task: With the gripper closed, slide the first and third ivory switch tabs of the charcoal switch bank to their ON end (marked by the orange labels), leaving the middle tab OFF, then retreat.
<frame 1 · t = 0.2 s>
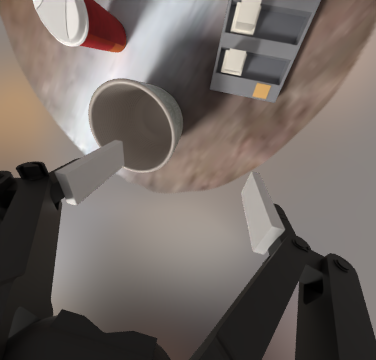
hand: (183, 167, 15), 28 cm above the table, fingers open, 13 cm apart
tab 2: (246, 16, 24), point 4 cm above the table, slide at 0.0 cm
paper cup: (114, 36, 32), on the table
tab 3: (233, 62, 28), point 4 cm above the table, slide at 0.0 cm
switch bank: (261, 28, 28), on the table
concrete flower pot: (159, 118, 40), on the table
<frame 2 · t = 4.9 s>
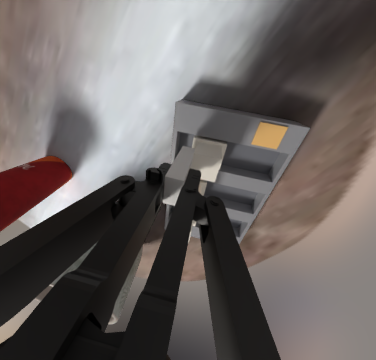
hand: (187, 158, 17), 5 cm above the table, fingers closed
tab 2: (190, 193, 21), point 4 cm above the table, slide at 0.0 cm
tab 1: (206, 157, 17), point 4 cm above the table, slide at 1.1 cm, touching gripper
paper cup: (59, 168, 29), on the table
tab 3: (184, 220, 24), point 4 cm above the table, slide at 0.0 cm
switch bank: (215, 182, 24), on the table
concrete flower pot: (120, 228, 37), on the table
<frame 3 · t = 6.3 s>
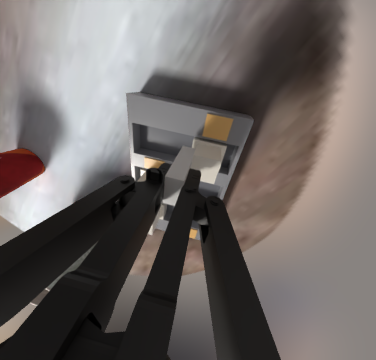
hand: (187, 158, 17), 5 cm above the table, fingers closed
tab 2: (151, 185, 21), point 4 cm above the table, slide at 0.0 cm
tab 1: (206, 158, 17), point 4 cm above the table, slide at 6.7 cm, touching gripper
paper cup: (32, 161, 29), on the table
tab 3: (150, 213, 24), point 4 cm above the table, slide at 0.0 cm
switch bank: (181, 176, 24), on the table
concrete flower pot: (97, 223, 37), on the table
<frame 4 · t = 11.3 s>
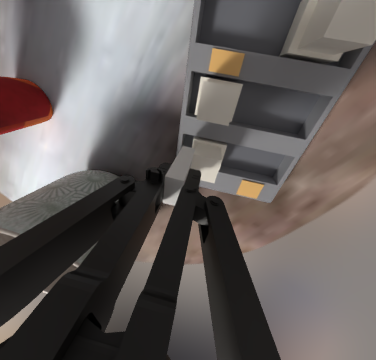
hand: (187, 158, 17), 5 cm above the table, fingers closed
tab 2: (216, 101, 14), point 4 cm above the table, slide at 0.0 cm
tab 1: (334, 23, 10), point 4 cm above the table, slide at 6.7 cm
paper cup: (36, 101, 22), on the table
tab 3: (206, 158, 17), point 4 cm above the table, slide at 0.4 cm, touching gripper
switch bank: (246, 103, 17), on the table
concrete flower pot: (116, 193, 30), on the table
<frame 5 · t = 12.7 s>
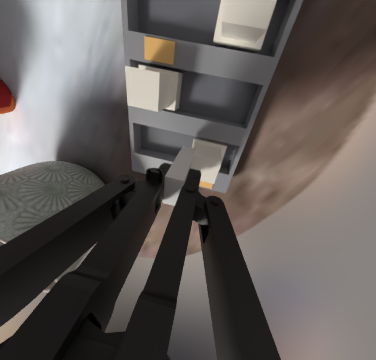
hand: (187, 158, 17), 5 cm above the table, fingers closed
tab 2: (154, 89, 14), point 4 cm above the table, slide at 0.0 cm
tab 1: (245, 11, 11), point 4 cm above the table, slide at 6.7 cm
tab 3: (206, 158, 17), point 4 cm above the table, slide at 6.6 cm, touching gripper
switch bank: (195, 94, 18), on the table
concrete flower pot: (87, 186, 30), on the table
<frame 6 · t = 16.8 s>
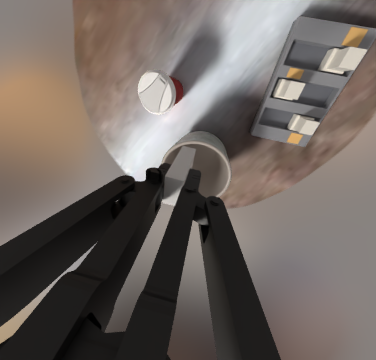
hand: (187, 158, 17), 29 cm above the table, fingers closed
tab 2: (288, 90, 32), point 4 cm above the table, slide at 0.0 cm
tab 1: (341, 60, 28), point 4 cm above the table, slide at 6.7 cm
paper cup: (173, 91, 40), on the table
tab 3: (303, 125, 35), point 4 cm above the table, slide at 6.7 cm
switch bank: (296, 92, 35), on the table
concrete flower pot: (201, 151, 47), on the table
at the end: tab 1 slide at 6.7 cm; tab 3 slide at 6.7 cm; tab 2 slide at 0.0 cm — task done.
